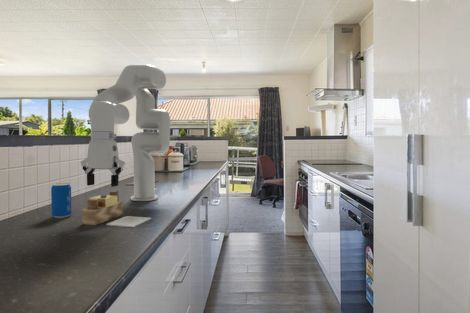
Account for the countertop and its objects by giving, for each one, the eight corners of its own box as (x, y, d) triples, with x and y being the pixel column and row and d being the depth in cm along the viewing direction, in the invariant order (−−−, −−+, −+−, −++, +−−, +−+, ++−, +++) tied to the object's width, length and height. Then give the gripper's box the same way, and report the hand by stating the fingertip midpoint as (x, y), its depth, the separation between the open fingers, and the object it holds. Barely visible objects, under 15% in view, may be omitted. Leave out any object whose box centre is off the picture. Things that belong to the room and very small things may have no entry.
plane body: (111, 213, 128) (111, 190, 127) (122, 214, 127) (122, 191, 126) (82, 224, 112) (82, 197, 112) (95, 225, 111) (94, 198, 111)
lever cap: (102, 202, 123) (101, 193, 123) (117, 203, 122) (117, 194, 122) (89, 206, 117) (89, 196, 116) (105, 207, 115) (105, 197, 115)
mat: (126, 217, 123) (126, 215, 123) (151, 218, 120) (151, 217, 120) (106, 225, 111) (106, 224, 111) (133, 227, 109) (133, 226, 109)
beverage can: (63, 219, 119) (62, 185, 118) (47, 218, 120) (46, 184, 119) (75, 215, 125) (74, 183, 125) (60, 214, 126) (59, 182, 126)
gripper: (130, 137, 119) (130, 185, 120) (88, 137, 123) (88, 183, 124) (118, 136, 112) (117, 187, 112) (74, 136, 116) (74, 185, 117)
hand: (102, 185), depth 118 cm, fingers open, 9 cm apart
